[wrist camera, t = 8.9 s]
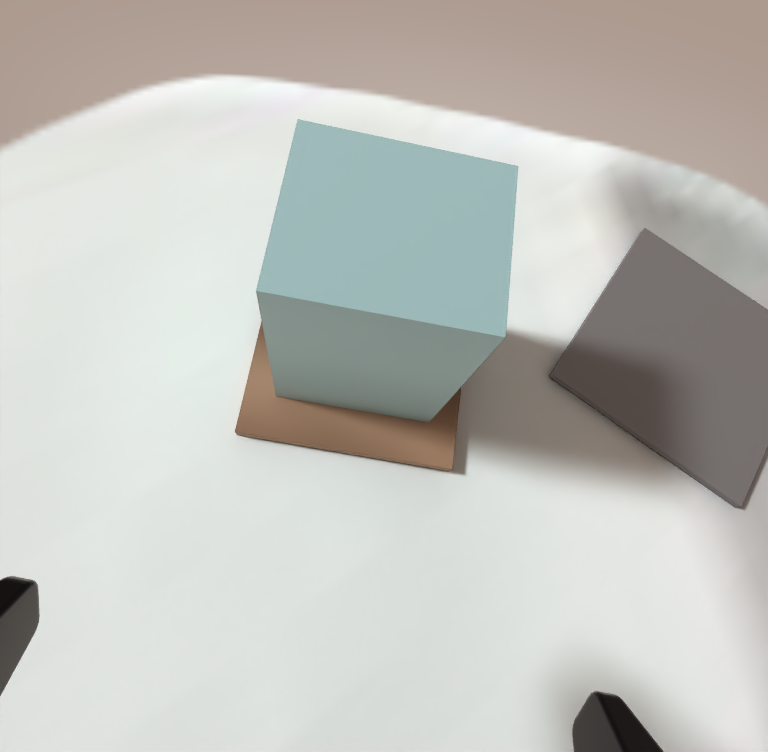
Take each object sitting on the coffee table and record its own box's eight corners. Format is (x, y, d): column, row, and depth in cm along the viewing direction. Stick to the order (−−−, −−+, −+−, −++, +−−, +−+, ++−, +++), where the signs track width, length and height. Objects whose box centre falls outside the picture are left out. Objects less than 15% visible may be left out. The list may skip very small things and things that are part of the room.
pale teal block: (429, 422, 23) (505, 337, 14) (275, 396, 23) (255, 290, 14) (442, 306, 25) (518, 166, 16) (300, 279, 25) (297, 119, 16)
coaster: (448, 471, 24) (452, 468, 23) (236, 434, 23) (234, 431, 22) (468, 284, 27) (472, 278, 26) (281, 247, 26) (281, 240, 25)
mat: (734, 507, 25) (741, 506, 24) (548, 376, 26) (552, 373, 25) (807, 343, 28) (814, 340, 28) (640, 232, 29) (645, 227, 28)
